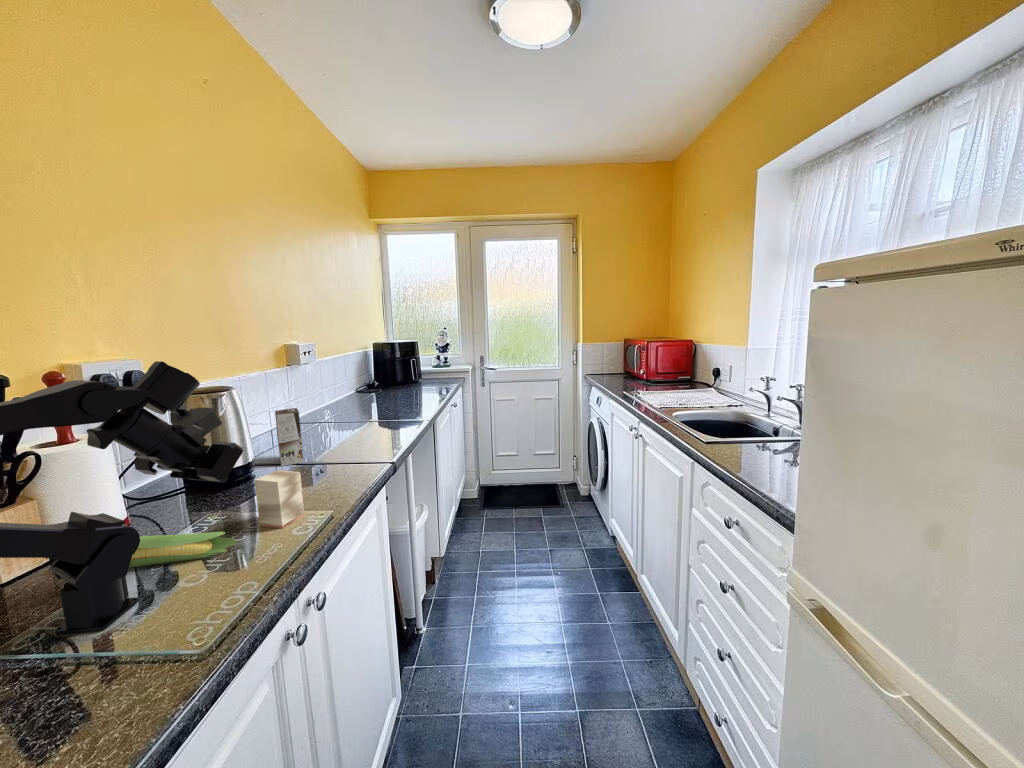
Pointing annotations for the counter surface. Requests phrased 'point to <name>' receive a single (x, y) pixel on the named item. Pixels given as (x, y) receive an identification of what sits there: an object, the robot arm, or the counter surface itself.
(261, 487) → the marked block
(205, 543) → the edible corn
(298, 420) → the coffee box
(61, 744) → the counter surface
